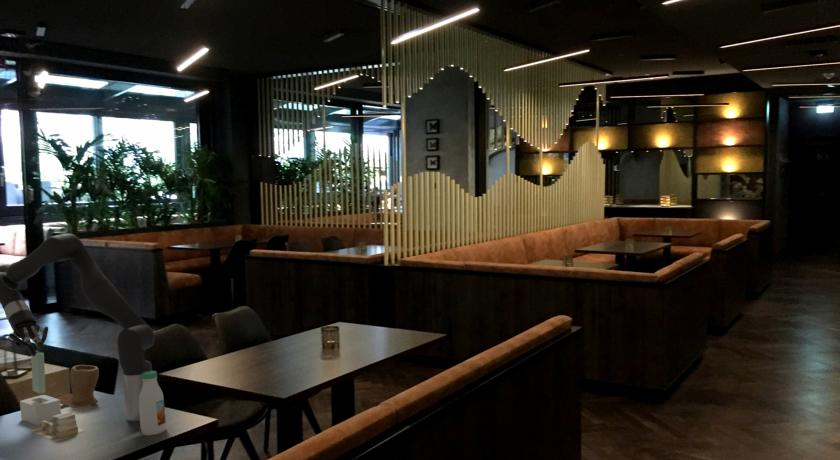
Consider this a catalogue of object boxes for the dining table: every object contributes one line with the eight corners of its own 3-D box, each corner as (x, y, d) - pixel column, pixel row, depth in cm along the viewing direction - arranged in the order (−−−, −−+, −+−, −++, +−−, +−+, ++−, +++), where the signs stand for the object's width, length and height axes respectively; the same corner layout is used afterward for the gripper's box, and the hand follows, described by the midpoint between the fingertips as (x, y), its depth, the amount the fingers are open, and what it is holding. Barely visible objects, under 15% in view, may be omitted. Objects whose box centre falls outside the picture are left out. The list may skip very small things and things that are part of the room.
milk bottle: (150, 437, 214) (146, 376, 213) (136, 433, 219) (131, 374, 217) (171, 429, 221) (166, 370, 220) (156, 426, 225) (152, 368, 224)
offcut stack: (51, 434, 217) (50, 416, 217) (69, 428, 222) (67, 411, 221) (60, 437, 214) (59, 419, 213) (78, 432, 218) (76, 414, 218)
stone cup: (107, 403, 253) (104, 364, 252) (76, 412, 243) (72, 372, 242) (86, 397, 261) (83, 359, 260) (55, 406, 252) (52, 367, 251)
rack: (30, 435, 222) (29, 422, 221) (60, 425, 230) (59, 412, 229) (56, 445, 211) (55, 431, 211) (87, 435, 219) (86, 422, 219)
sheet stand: (21, 423, 234) (19, 400, 233) (45, 416, 240) (43, 394, 240) (37, 429, 227) (35, 406, 226) (61, 422, 233) (59, 399, 233)
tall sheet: (32, 390, 233) (31, 351, 232) (38, 388, 235) (37, 350, 233) (39, 393, 231) (37, 354, 229) (45, 392, 232) (43, 353, 231)
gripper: (1, 312, 230) (20, 351, 223) (42, 305, 241) (62, 342, 235) (-5, 326, 233) (14, 365, 227) (37, 319, 244) (56, 355, 238)
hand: (38, 353), depth 231 cm, fingers closed on tall sheet, 2 cm apart
